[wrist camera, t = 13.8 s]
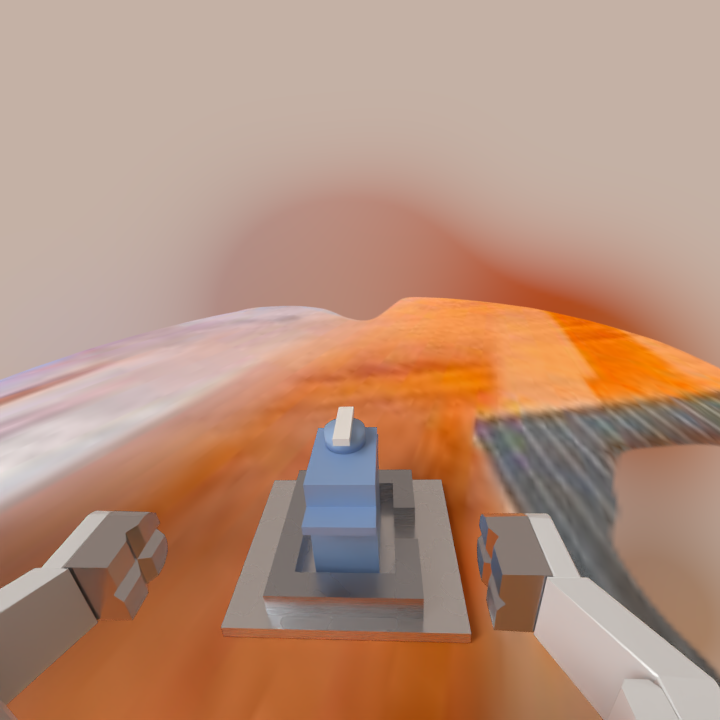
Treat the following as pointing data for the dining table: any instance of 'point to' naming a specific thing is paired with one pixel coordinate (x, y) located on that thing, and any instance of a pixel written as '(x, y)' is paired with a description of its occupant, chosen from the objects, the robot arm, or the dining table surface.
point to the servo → (344, 497)
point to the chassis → (354, 590)
